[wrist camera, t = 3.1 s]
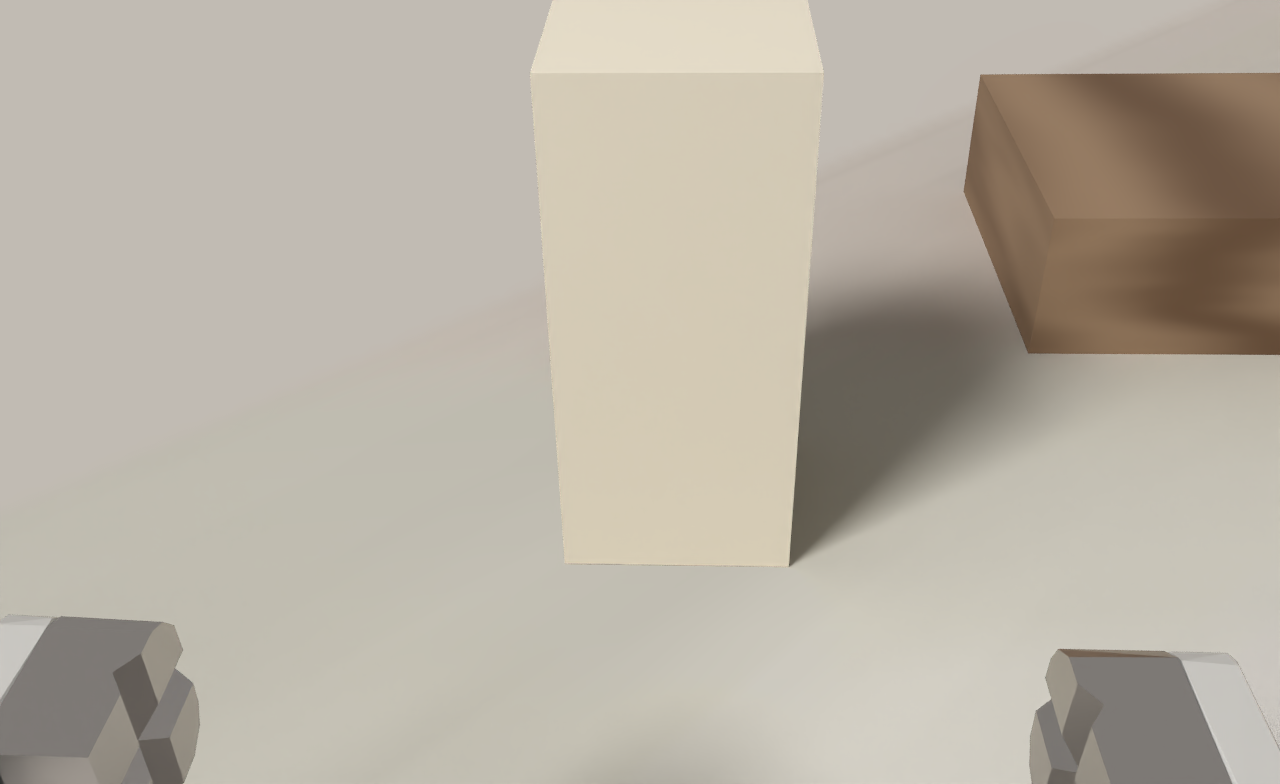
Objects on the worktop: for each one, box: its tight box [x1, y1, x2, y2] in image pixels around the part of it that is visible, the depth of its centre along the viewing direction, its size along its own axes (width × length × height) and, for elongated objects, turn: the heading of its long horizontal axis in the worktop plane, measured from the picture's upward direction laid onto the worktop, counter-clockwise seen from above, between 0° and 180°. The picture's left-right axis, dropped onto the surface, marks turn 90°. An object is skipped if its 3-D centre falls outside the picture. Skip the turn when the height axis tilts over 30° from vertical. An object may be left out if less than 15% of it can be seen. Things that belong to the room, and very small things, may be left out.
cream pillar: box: [530, 0, 824, 567], centre depth 23 cm, size 4×4×10 cm
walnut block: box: [964, 73, 1280, 355], centre depth 33 cm, size 9×9×4 cm
